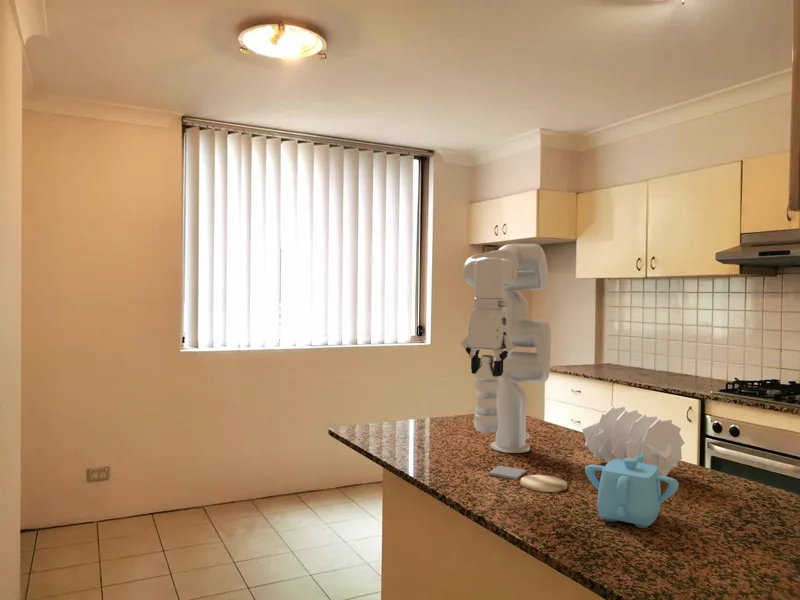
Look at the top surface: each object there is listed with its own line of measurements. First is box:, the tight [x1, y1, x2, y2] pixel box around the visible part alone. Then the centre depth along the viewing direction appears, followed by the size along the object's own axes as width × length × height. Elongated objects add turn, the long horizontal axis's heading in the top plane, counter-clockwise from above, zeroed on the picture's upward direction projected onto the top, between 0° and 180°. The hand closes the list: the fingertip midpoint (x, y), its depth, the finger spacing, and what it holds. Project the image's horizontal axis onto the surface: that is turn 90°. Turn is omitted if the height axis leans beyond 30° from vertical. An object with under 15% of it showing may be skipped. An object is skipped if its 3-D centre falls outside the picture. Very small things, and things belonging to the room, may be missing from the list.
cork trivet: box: [520, 474, 568, 493], centre depth 160 cm, size 12×12×1 cm
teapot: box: [584, 453, 680, 529], centre depth 138 cm, size 18×16×14 cm
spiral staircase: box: [582, 406, 685, 477], centre depth 175 cm, size 18×18×25 cm
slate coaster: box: [488, 465, 527, 481], centre depth 169 cm, size 8×8×1 cm
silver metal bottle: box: [473, 354, 499, 434], centre depth 157 cm, size 6×7×20 cm
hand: (486, 373), depth 157 cm, fingers closed on silver metal bottle, 6 cm apart
